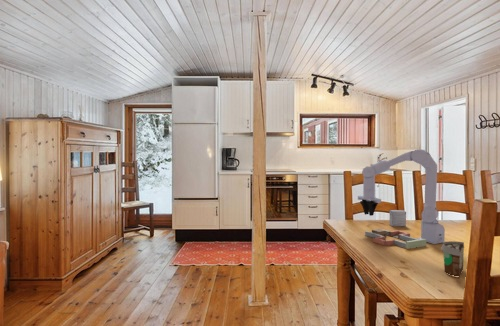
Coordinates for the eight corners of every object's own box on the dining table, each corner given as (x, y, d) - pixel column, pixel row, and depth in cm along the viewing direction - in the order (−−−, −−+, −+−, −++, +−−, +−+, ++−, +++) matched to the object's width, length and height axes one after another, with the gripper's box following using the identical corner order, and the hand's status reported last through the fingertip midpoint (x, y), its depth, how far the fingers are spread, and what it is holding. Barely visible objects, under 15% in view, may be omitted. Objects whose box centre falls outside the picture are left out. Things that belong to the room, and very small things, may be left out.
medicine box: (403, 225, 190) (403, 210, 190) (406, 226, 186) (406, 211, 185) (389, 224, 191) (389, 210, 190) (391, 226, 186) (391, 211, 186)
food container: (444, 265, 121) (444, 239, 121) (463, 269, 118) (464, 241, 117) (437, 275, 112) (438, 246, 112) (458, 279, 108) (459, 249, 108)
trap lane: (434, 244, 149) (434, 238, 149) (398, 250, 140) (398, 243, 140) (389, 231, 173) (389, 226, 173) (356, 236, 164) (356, 230, 164)
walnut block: (385, 236, 165) (385, 230, 165) (378, 237, 163) (378, 231, 162) (379, 234, 169) (379, 228, 169) (371, 235, 167) (371, 229, 167)
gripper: (385, 190, 167) (385, 216, 167) (364, 187, 180) (364, 212, 180) (375, 190, 164) (375, 217, 164) (354, 188, 177) (354, 213, 177)
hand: (368, 214), depth 172 cm, fingers open, 3 cm apart
